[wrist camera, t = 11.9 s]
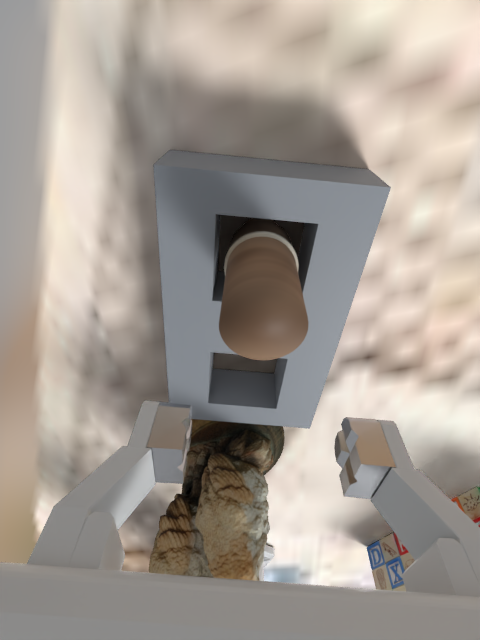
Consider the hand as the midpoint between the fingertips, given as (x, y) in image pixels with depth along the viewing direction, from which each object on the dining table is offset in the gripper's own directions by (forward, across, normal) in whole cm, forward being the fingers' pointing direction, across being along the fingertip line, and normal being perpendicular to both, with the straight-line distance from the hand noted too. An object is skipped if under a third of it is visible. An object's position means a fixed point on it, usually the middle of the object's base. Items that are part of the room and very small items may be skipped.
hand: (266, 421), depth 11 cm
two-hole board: (+15, 0, -5) cm, 16 cm away
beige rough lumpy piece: (+15, -1, -25) cm, 29 cm away
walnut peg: (+15, 0, 0) cm, 15 cm away
